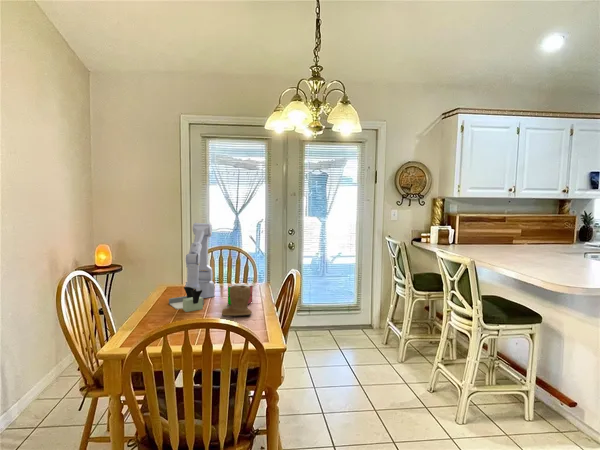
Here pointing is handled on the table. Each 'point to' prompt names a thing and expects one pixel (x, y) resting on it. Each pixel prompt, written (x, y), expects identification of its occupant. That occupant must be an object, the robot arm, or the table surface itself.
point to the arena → (178, 302)
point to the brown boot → (238, 301)
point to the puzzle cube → (240, 285)
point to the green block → (192, 304)
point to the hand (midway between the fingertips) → (192, 301)
